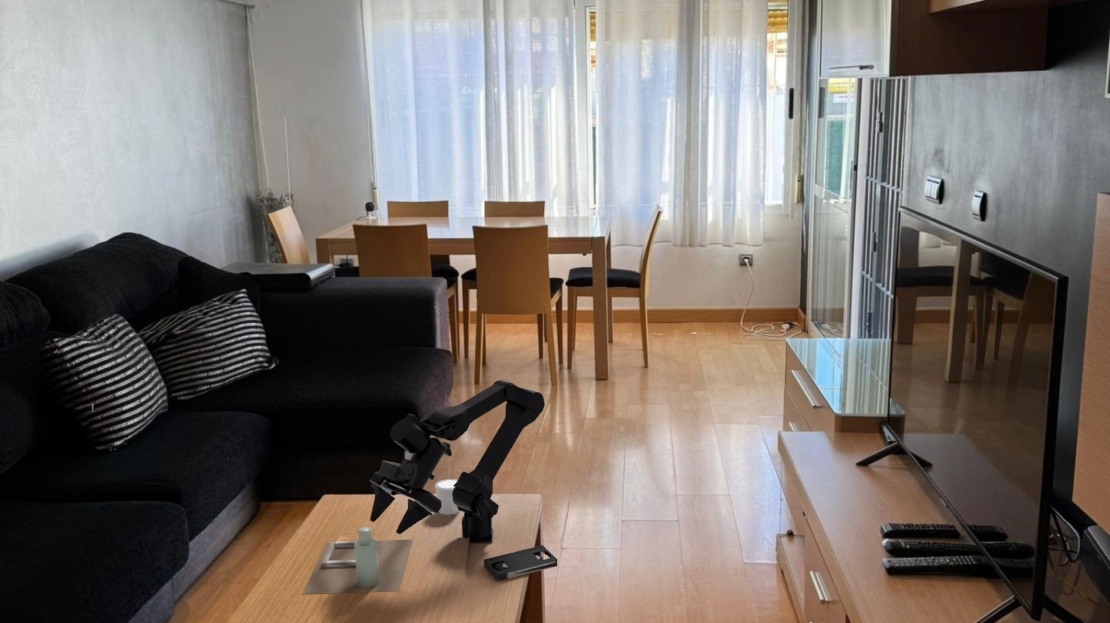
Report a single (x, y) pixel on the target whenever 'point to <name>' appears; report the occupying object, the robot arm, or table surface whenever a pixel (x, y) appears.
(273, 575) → the table surface
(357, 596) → the table surface
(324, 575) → the board
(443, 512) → the white cup
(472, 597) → the table surface
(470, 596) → the table surface
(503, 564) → the vhs tape
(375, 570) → the bottle
